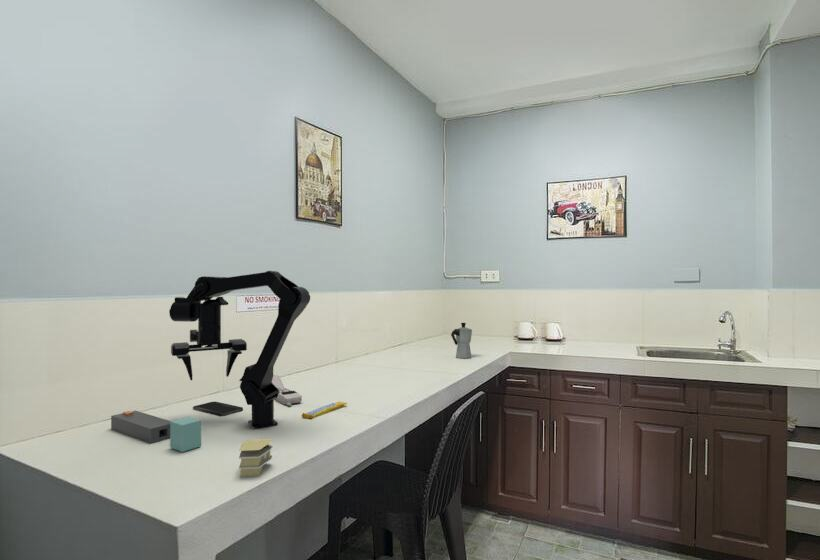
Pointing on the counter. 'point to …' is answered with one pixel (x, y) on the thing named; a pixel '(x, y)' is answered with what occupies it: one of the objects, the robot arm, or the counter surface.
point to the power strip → (141, 426)
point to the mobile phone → (285, 393)
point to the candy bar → (323, 410)
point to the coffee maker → (462, 341)
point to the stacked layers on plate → (254, 456)
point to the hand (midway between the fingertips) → (209, 378)
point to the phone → (218, 408)
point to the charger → (185, 434)
